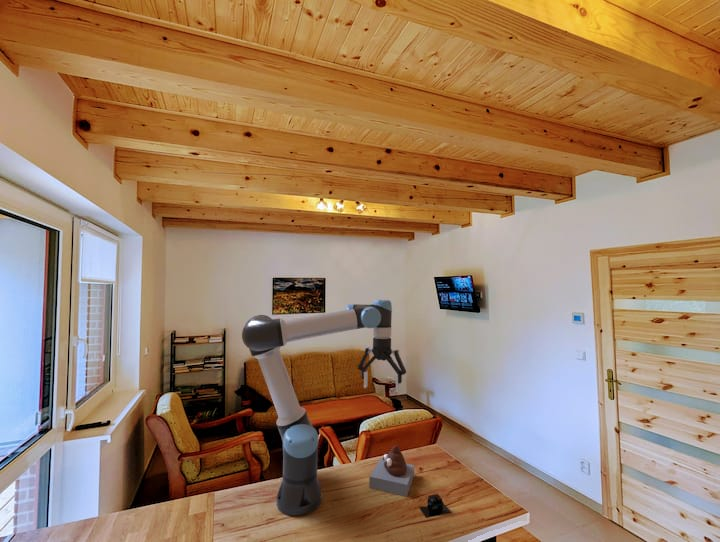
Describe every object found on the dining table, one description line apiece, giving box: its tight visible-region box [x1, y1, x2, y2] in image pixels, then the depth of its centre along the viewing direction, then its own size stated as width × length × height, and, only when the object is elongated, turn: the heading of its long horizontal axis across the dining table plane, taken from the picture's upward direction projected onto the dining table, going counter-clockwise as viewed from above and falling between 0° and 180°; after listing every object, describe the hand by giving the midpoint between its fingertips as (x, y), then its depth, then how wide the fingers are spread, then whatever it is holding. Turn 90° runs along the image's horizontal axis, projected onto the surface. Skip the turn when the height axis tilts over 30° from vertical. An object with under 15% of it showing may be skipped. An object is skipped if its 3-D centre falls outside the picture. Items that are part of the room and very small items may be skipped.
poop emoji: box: [382, 445, 407, 476], centre depth 127 cm, size 10×8×9 cm
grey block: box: [368, 457, 415, 497], centre depth 126 cm, size 14×14×4 cm
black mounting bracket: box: [418, 493, 452, 519], centre depth 111 cm, size 12×7×5 cm, turn 107°
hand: (381, 389), depth 136 cm, fingers open, 13 cm apart
